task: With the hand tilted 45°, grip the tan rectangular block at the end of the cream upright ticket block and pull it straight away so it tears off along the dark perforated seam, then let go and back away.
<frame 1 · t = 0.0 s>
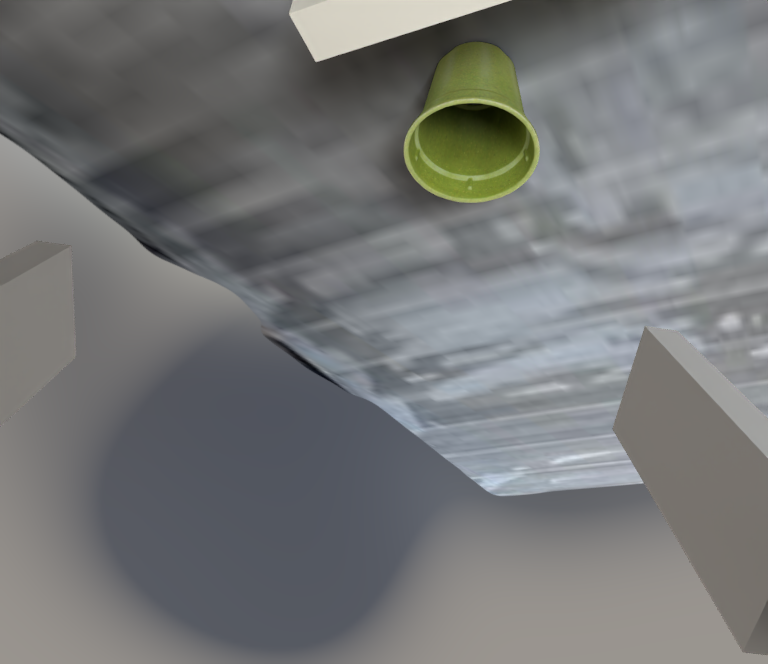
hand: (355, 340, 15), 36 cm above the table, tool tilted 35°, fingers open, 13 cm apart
plant pot: (473, 74, 51), on the table
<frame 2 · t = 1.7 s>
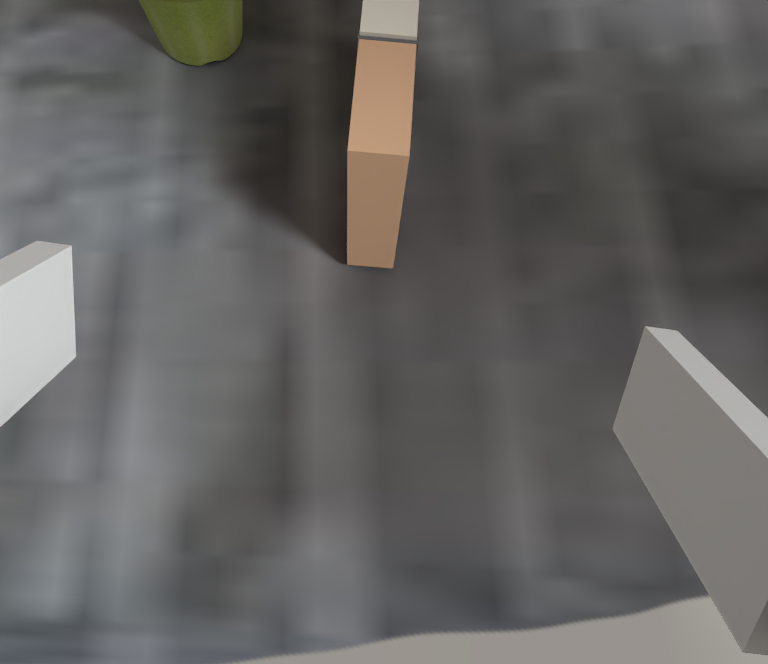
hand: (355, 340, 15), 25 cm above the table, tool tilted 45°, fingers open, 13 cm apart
tan rectangular block: (377, 166, 39), point 6 cm above the table, slide at 0.0 cm
ticket block: (385, 83, 49), on the table
plant pot: (203, 37, 50), on the table
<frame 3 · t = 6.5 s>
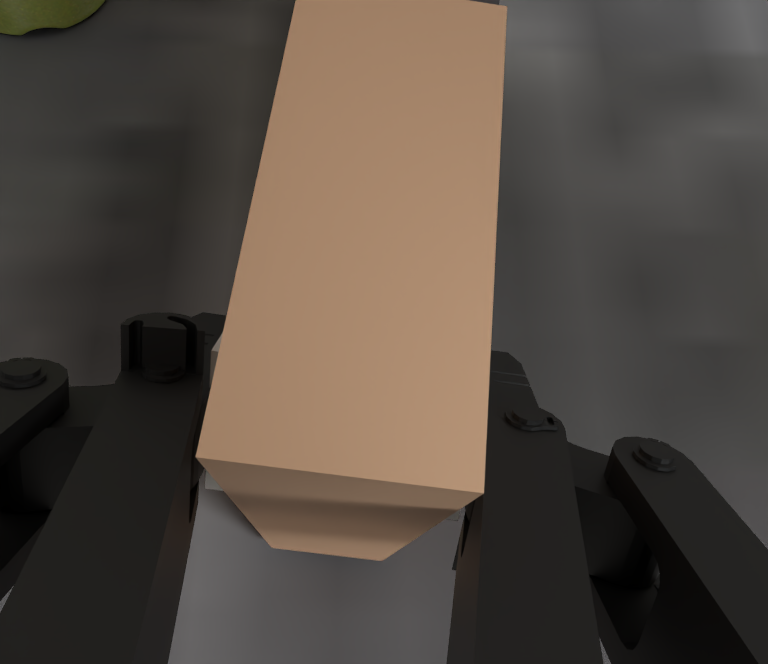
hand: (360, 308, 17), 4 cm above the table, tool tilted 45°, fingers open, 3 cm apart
tan rectangular block: (354, 358, 14), point 6 cm above the table, slide at 1.1 cm, touching gripper
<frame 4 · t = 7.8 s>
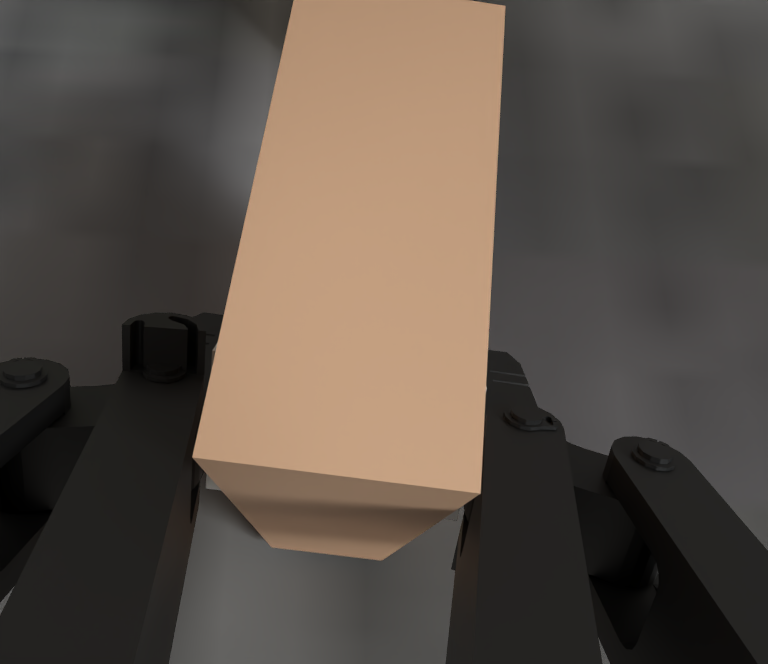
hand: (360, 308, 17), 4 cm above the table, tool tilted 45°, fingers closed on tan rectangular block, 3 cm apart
tan rectangular block: (353, 358, 14), point 7 cm above the table, slide at 8.2 cm, touching gripper
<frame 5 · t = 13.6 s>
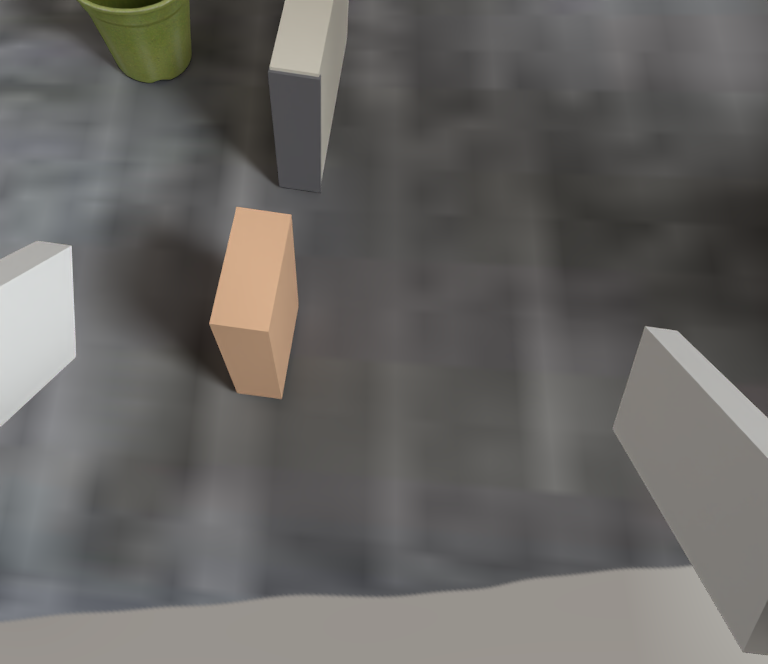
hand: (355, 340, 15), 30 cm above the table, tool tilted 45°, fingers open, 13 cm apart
tan rectangular block: (261, 313, 40), point 6 cm above the table, slide at 9.5 cm
ticket block: (316, 108, 55), on the table
plant pot: (155, 57, 55), on the table
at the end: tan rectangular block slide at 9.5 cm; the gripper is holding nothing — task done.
